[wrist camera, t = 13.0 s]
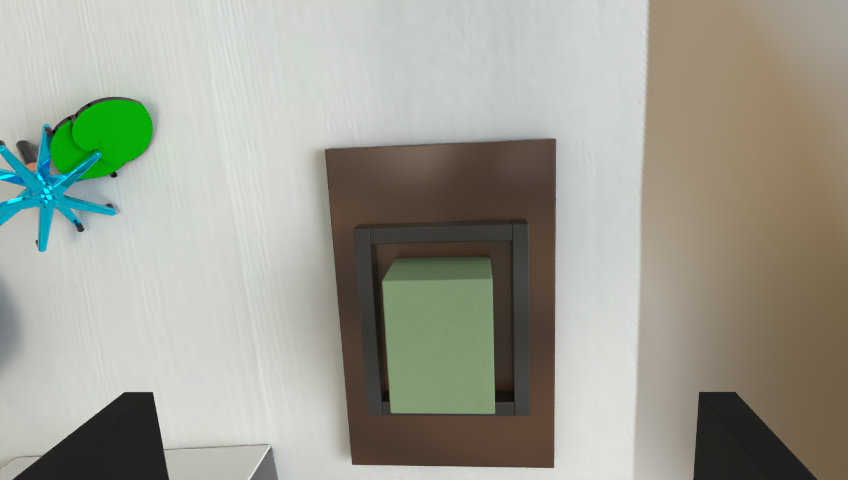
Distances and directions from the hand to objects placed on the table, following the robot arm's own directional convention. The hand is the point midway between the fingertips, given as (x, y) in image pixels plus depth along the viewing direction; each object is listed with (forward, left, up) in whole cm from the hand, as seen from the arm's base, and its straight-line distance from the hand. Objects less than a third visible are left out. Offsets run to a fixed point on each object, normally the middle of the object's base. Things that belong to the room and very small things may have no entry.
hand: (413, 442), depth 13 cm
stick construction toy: (+20, -15, -22) cm, 33 cm away
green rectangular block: (+2, +4, -21) cm, 21 cm away
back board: (+2, +4, -22) cm, 22 cm away
